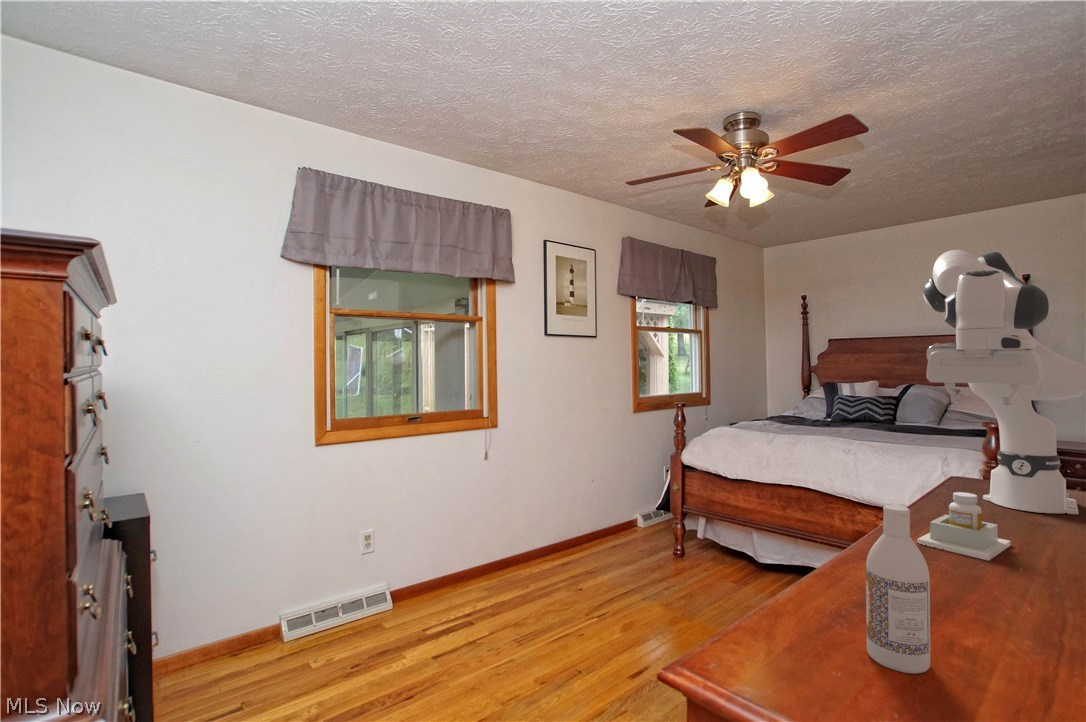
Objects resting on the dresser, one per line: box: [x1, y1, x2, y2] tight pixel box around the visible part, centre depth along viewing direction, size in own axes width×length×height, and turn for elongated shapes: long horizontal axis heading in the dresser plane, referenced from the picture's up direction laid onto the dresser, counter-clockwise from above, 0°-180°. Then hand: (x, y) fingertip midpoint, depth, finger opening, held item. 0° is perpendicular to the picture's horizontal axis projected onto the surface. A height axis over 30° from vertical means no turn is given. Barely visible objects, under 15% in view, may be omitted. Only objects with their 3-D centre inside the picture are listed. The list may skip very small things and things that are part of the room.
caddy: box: [916, 514, 1012, 561], centre depth 111 cm, size 14×12×4 cm
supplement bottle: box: [948, 491, 983, 530], centre depth 111 cm, size 5×5×10 cm
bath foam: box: [865, 504, 931, 675], centre depth 69 cm, size 7×7×20 cm
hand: (981, 403), depth 118 cm, fingers open, 8 cm apart
